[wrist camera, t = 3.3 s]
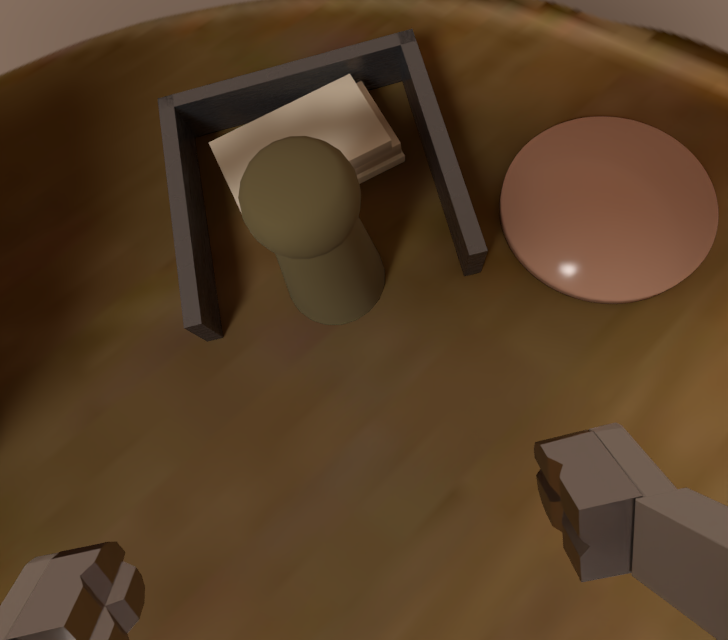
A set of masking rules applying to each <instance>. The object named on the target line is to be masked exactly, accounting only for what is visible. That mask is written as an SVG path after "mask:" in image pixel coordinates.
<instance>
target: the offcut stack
mask: <svg viewBox="0 0 728 640" xmlns="http://www.w3.org/2000/svg"><path fill="white" fill-rule="evenodd" d="M289 136H308V137H312V138H316V139H320V140H323V141H326V142H327V143H329V144H331V145H332V146H334V147H336V148H337V149H339V150H340V151H341V152H342V153H343V155H344V156H345V157H346V158H347V160H348V161H349V162H350V163H351V165H352V166H353V168H354V169H355V172H356V175H357V178H358V181H359V184H360V183H362V182H364V181H366V180H368V179H370V178H372V177H374V176H377V175H379V174H381V173H383V172H385V171H387V170H389V169H391V168H393V167H395V166H397V165H399V164H401V163H403V162H405V155H404V153H403V152H402V150H401V143H400V141H399V139H398V138H397V136H396V135H395V133H394V132H393V130H392V128H391V127H390V125H389V124H388V122H387V120H386V119H385V117H384V116H383V114H382V113H381V111H380V109H379V108H378V106H377V105H376V103H375V102H374V100H373V98H372V97H371V95H370V94H369V92H368V90H367V89H366V87H365V86H364V84H363V83H362V81H360V82H358V83H355V81H354V80H353V78H352V76H351V75H350V74H348V75H346V76H344V77H342V78H340V79H338V80H335V81H333V82H331V83H329V84H327V85H325V86H323V87H321V88H319V89H317V90H315V91H313V92H311V93H309V94H307V95H305V96H303V97H301V98H299V99H297V100H295V101H293V102H291V103H288V104H286V105H284V106H282V107H280V108H278V109H276V110H274V111H272V112H270V113H268V114H266V115H264V116H262V117H260V118H258V119H256V120H254V121H252V122H250V123H248V124H246V125H244V126H242V127H239V128H237V129H235V130H233V131H231V132H229V133H227V134H225V135H223V136H221V137H219V138H217V139H215V140H213V141H211V142H209V145H210V147H211V149H212V151H213V154H214V156H215V158H216V160H217V162H218V164H219V166H220V168H221V171H222V173H223V175H224V177H225V179H226V181H227V183H228V186H229V188H230V190H231V192H232V194H233V196H234V198H235V200H236V203H237V205H238V207H239V209H240V211H241V208H240V203H239V199H238V196H239V188H240V181H241V179H242V176H243V174H244V172H245V170H246V168H247V166H248V164H249V162H250V161H251V159H252V158H253V157H254V156H255V155H256V154H257V153H258V152H259V151H260V150H261V149H263V148H264V147H266V146H267V145H269V144H270V143H272V142H274V141H277V140H280V139H283V138H286V137H289ZM241 213H242V212H241Z"/></svg>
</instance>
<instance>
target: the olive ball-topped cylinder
mask: <svg viewBox="0 0 728 640" xmlns="http://www.w3.org/2000/svg"><path fill="white" fill-rule="evenodd" d="M238 199H239V203H240V208H241V212H242V217H243V221H244V223H245V224H246V226H247V227H248V229H249V230H250V232H251V233H252V235H253V236H254V237H255V239H256V240H257V241H258V242H259V243H261V244H262V245H263V246H265V247H266V248H268V249H269V250H270V251H272V252H274V253H275V254H276V257H277V260H278V263H279V265H280V268H281V271H282V274H283V277H284V279H285V282H286V285H287V288H288V291H289V293H290V296H291V299H292V301H293V302H294V304H295V305H296V307H297V308H298V310H299V311H300V312H301V313H303V314H304V315H305V316H307V317H308V318H309V319H311V320H313V321H316V322H319V323H322V324H325V325H342V324H345V323H349V322H352V321H355V320H357V319H359V318H360V317H362V316H363V315H365V314H366V313H368V312H369V311H370V310H371V309H372V308H373V306H374V305H375V304H376V303H377V301H378V300H379V298H380V296H381V293H382V290H383V288H384V284H385V269H384V266H383V263H382V260H381V257H380V255H379V253H378V251H377V250H376V248H375V246H374V244H373V242H372V240H371V238H370V237H369V235H368V233H367V231H366V229H365V227H364V225H363V224H362V222H361V220H360V218H359V213H360V207H361V189H360V184H359V181H358V178H357V175H356V172H355V169H354V168H353V166H352V165H351V163H350V162H349V161H348V160H347V158H346V157H345V156H344V155H343V153H342V152H341V151H340V150H339V149H337V148H336V147H334V146H332V145H331V144H329V143H327V142H326V141H323V140H320V139H316V138H312V137H308V136H289V137H286V138H283V139H280V140H277V141H274V142H272V143H270V144H269V145H267V146H266V147H264V148H263V149H261V150H260V151H259V152H258V153H257V154H256V155H255V156H254V157H253V158H252V159H251V161H250V162H249V164H248V166H247V168H246V170H245V172H244V174H243V176H242V179H241V181H240V188H239V196H238Z"/></svg>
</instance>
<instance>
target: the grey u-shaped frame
mask: <svg viewBox="0 0 728 640" xmlns="http://www.w3.org/2000/svg"><path fill="white" fill-rule="evenodd" d="M348 74H350V75H351V76H352V78H353V80H354V81H355V83H358V82H360V81H362V83H363V84H364V86H365V87H366V89H367V90H371V89H375V88H379V87H382V86H386V85H390V84H393V83H397V82H401V81H402V82H403V85H404V88H405V91H406V94H407V97H408V100H409V104H410V107H411V110H412V113H413V116H414V119H415V122H416V126H417V129H418V132H419V135H420V138H421V141H422V145H423V148H424V151H425V154H426V157H427V160H428V163H429V167H430V170H431V173H432V176H433V179H434V182H435V185H436V189H437V192H438V195H439V198H440V201H441V204H442V207H443V211H444V214H445V217H446V220H447V223H448V226H449V230H450V233H451V236H452V239H453V242H454V245H455V248H456V252H457V255H458V258H459V261H460V264H461V267H462V270H463V274H464V276H467V275H471V274H475V273H479V272H481V270H482V267H483V264H484V261H485V258H486V255H487V251H488V250H487V247H486V244H485V241H484V238H483V235H482V232H481V229H480V226H479V224H478V221H477V218H476V215H475V212H474V209H473V206H472V203H471V200H470V197H469V194H468V191H467V188H466V185H465V182H464V179H463V177H462V174H461V171H460V168H459V165H458V162H457V159H456V156H455V153H454V150H453V147H452V144H451V141H450V138H449V135H448V132H447V130H446V127H445V124H444V121H443V118H442V115H441V112H440V109H439V106H438V103H437V100H436V97H435V94H434V91H433V88H432V85H431V83H430V80H429V77H428V74H427V71H426V68H425V65H424V62H423V59H422V56H421V53H420V50H419V47H418V44H417V41H416V38H415V36H414V33H413V30H412V29H410V30H406V31H403V32H399V33H395V34H392V35H388V36H384V37H381V38H377V39H373V40H370V41H366V42H362V43H359V44H355V45H352V46H348V47H344V48H341V49H337V50H333V51H330V52H326V53H322V54H319V55H315V56H311V57H308V58H304V59H301V60H297V61H293V62H290V63H286V64H282V65H279V66H275V67H271V68H268V69H264V70H260V71H257V72H253V73H250V74H246V75H242V76H239V77H235V78H231V79H228V80H224V81H220V82H217V83H213V84H209V85H206V86H202V87H199V88H195V89H191V90H188V91H184V92H180V93H177V94H173V95H169V96H166V97H162V98H158V105H159V114H160V123H161V132H162V140H163V149H164V158H165V166H166V175H167V184H168V193H169V201H170V210H171V219H172V227H173V236H174V245H175V253H176V262H177V271H178V280H179V288H180V297H181V306H182V314H183V323H184V328H185V329H186V330H188V331H190V332H192V333H193V334H195V335H197V336H199V337H200V338H202V339H204V340H206V341H211V340H215V339H219V338H223V334H222V327H221V320H220V313H219V306H218V299H217V292H216V285H215V277H214V270H213V263H212V256H211V249H210V242H209V235H208V228H207V221H206V213H205V206H204V199H203V192H202V185H201V178H200V171H199V164H198V157H197V149H196V142H195V137H197V136H201V135H205V134H209V133H212V132H216V131H220V130H223V129H227V128H231V127H234V126H238V125H242V124H246V123H249V122H252V121H254V120H256V119H258V118H260V117H262V116H264V115H266V114H268V113H270V112H272V111H274V110H276V109H278V108H280V107H282V106H284V105H286V104H288V103H291V102H293V101H295V100H297V99H299V98H301V97H303V96H305V95H307V94H309V93H311V92H313V91H315V90H317V89H319V88H321V87H323V86H325V85H327V84H329V83H331V82H333V81H335V80H338V79H340V78H342V77H344V76H346V75H348Z"/></svg>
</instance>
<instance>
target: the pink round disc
mask: <svg viewBox="0 0 728 640" xmlns="http://www.w3.org/2000/svg"><path fill="white" fill-rule="evenodd" d="M499 216H500V221H501V227H502V230H503V233H504V236H505V239H506V241H507V243H508V245H509V247H510V249H511V250H512V252H513V253H514V255H515V256H516V258H517V259H518V260H519V262H520V263H521V264H522V265H523V266H524V267H525V268H526V270H528V271H529V272H530V273H531V274H532V275H533V276H534V277H536V278H537V279H538V280H540V281H541V282H543V283H544V284H546V285H547V286H549V287H551V288H552V289H554V290H556V291H558V292H560V293H562V294H565V295H568V296H570V297H573V298H576V299H580V300H584V301H588V302H595V303H602V304H622V303H632V302H636V301H641V300H645V299H648V298H651V297H654V296H656V295H659V294H661V293H663V292H665V291H667V290H669V289H671V288H672V287H674V286H675V285H676V284H678V283H679V282H681V281H682V280H683V279H685V278H686V277H688V276H689V275H690V274H691V273H692V272H693V271H694V270H695V269H696V268H697V267H698V266H699V265H700V264H701V263H702V261H703V260H704V259H705V257H706V256H707V254H708V252H709V250H710V249H711V247H712V245H713V242H714V239H715V236H716V233H717V227H718V220H719V219H718V203H717V197H716V193H715V190H714V187H713V184H712V182H711V180H710V178H709V176H708V174H707V172H706V171H705V169H704V168H703V166H702V165H701V163H700V162H699V161H698V160H697V158H696V157H695V156H694V155H693V154H692V153H691V152H690V151H689V150H688V149H687V148H686V147H685V146H683V145H682V144H681V143H680V142H678V141H677V140H676V139H674V138H673V137H671V136H670V135H668V134H666V133H664V132H662V131H661V130H659V129H657V128H654V127H652V126H649V125H647V124H644V123H641V122H637V121H634V120H630V119H624V118H619V117H607V116H600V117H586V118H578V119H574V120H570V121H566V122H563V123H561V124H558V125H555V126H553V127H551V128H549V129H547V130H545V131H543V132H542V133H540V134H539V135H537V136H536V137H534V138H533V139H532V140H531V141H530V142H528V143H527V144H526V145H525V146H524V147H523V148H522V149H521V151H520V152H519V153H518V154H517V155H516V157H515V158H514V160H513V161H512V163H511V165H510V167H509V169H508V171H507V173H506V176H505V179H504V183H503V186H502V190H501V193H500V201H499Z"/></svg>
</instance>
